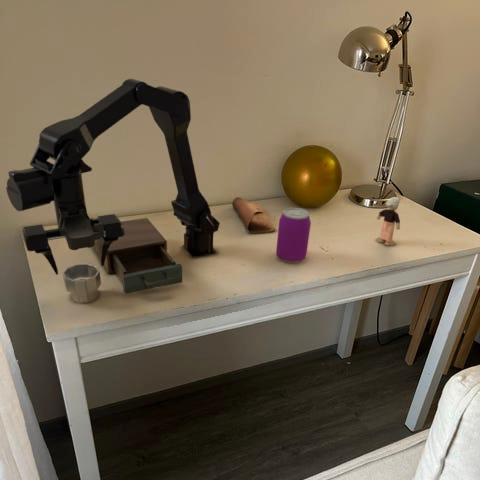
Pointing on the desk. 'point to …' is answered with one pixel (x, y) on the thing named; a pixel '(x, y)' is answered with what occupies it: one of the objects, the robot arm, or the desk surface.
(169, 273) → the drawer
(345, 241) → the desk surface
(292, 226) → the beverage can
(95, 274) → the cup
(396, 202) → the grandmother figurine
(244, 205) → the sunglasses case
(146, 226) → the cabinet
